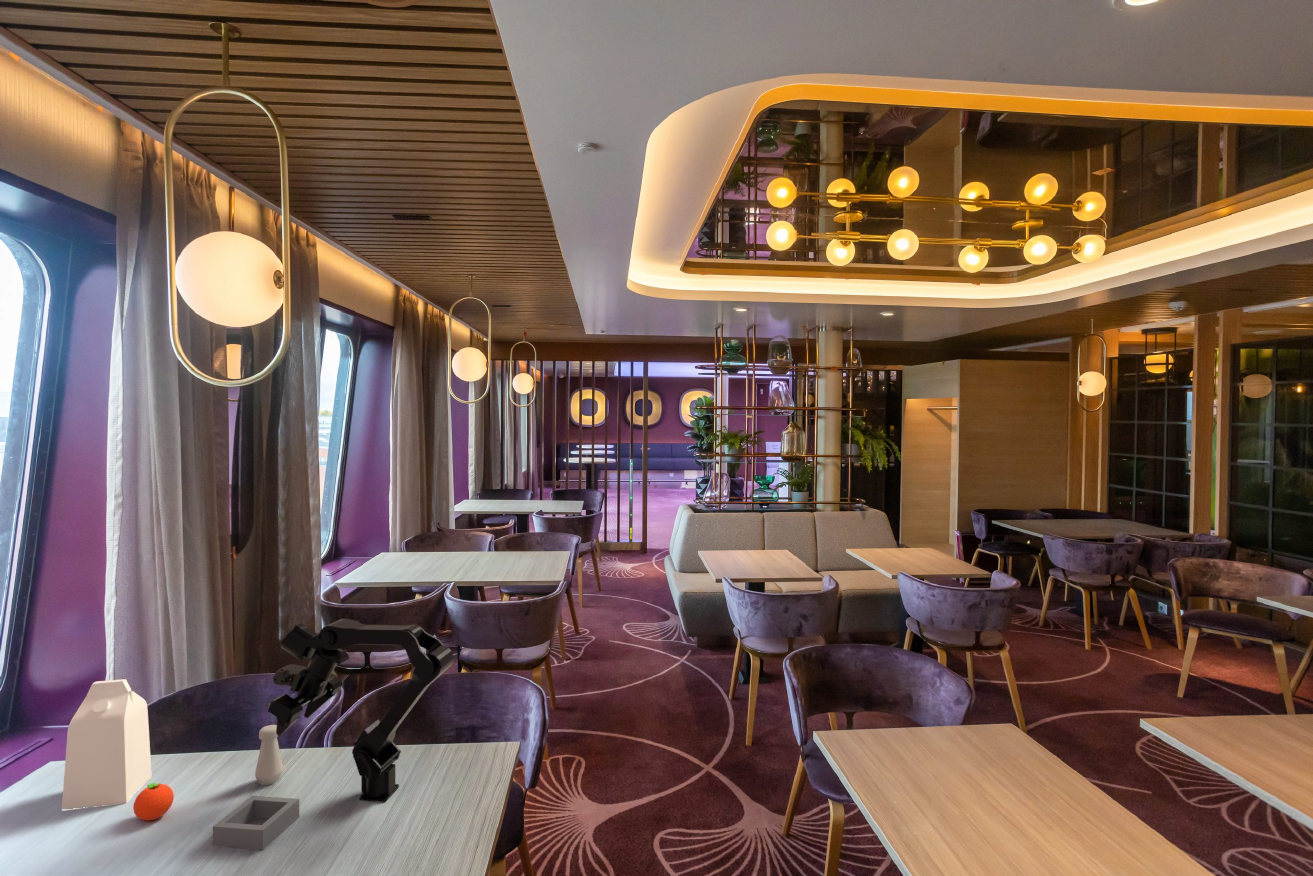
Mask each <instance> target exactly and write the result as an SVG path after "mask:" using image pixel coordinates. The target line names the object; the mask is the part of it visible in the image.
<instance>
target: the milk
mask: <svg viewBox="0 0 1313 876" xmlns="http://www.w3.org/2000/svg"><path fill="white" fill-rule="evenodd" d="M149 726H150V725H149V711H148V704H147V701H146V700H145V699H144V698H143V697H142V696H141V695H139V694H137V692H135V691H134V690H132V688H131V686H130V685H129V683H128V681H127V679H126V678H124V679H111V680H99V681H95V682H93V683H92V684H91V686H90V687H89V689H88V692H87V694H86V696H85V698H84V699H83V700H82V702H81V704H80V705H79V707H78V709H77V711H76V712H75V713H74V715H73V717H72V718H71V720H70V722H69V725H68V726H67V732H66V733H67V734H66V735H67V736H66V748H65V760H64V761H65V763H64V775H63V776H64V777H63V788H62V789H63V790H62V799H61V800H62V801H61V810H62V809H73V808H83V807H85V809H87V808H86V807H93V808H95V807H94V806H101V807H103V806H102V805H109V806H115V805H116V806H117V805H123V804H127V803H129V801H130V800H131V799H132V798H133V797H134V796H135V795H136V794H137V793H138V792H139V790H140V789H142V787H143V786H144V785H145V784H146V783H147V782H148V781H149V780H150V779H151V778H152V774H153V773H152V760H151V746H150V742H151V741H150V728H149ZM137 791H138V792H137ZM136 792H137V793H136ZM135 793H136V794H135ZM134 794H135V795H134ZM133 795H134V796H133Z"/></svg>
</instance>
